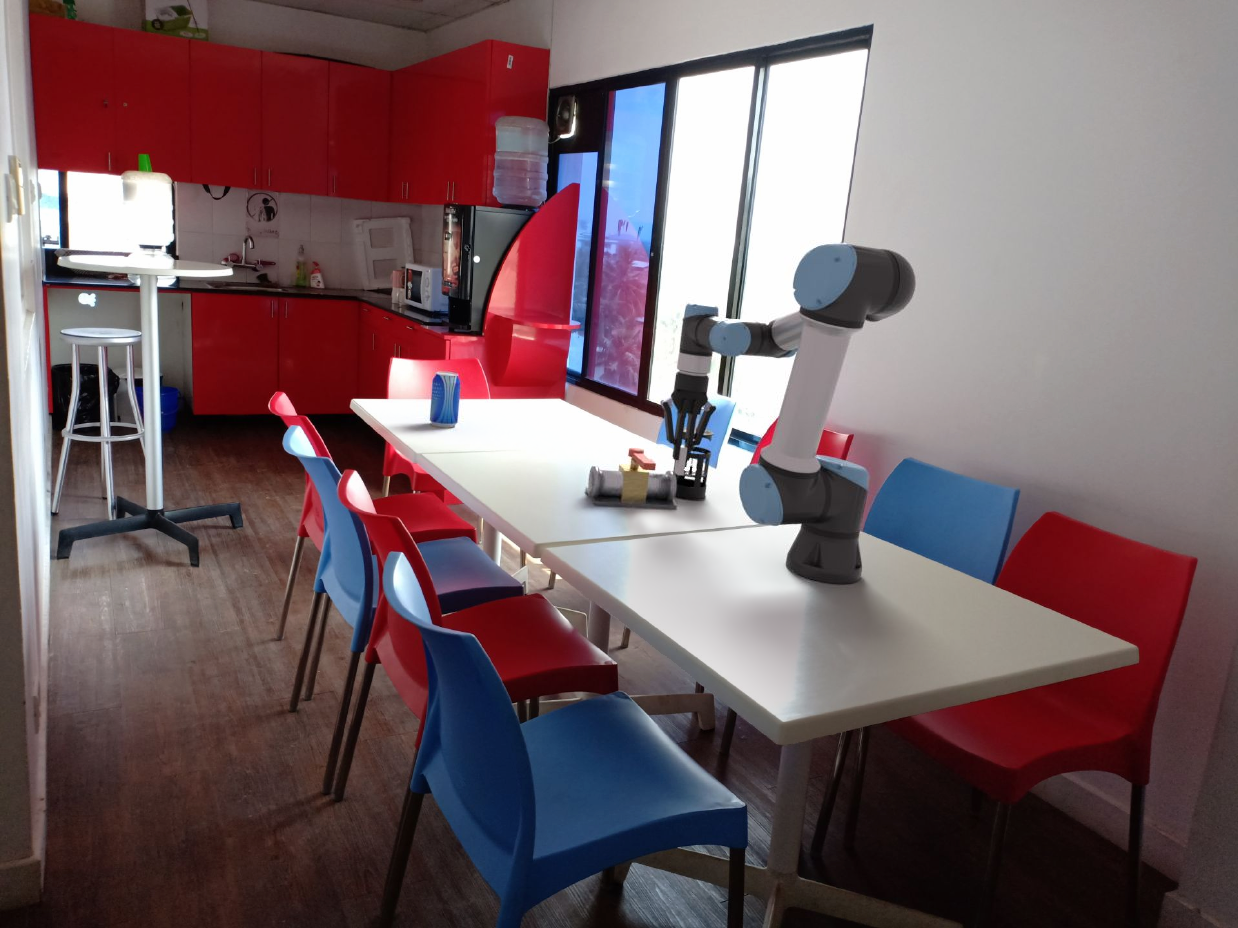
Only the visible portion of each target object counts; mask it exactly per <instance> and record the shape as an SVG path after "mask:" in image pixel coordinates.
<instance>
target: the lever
mask: <svg viewBox="0 0 1238 928" xmlns="http://www.w3.org/2000/svg"><path fill="white" fill-rule="evenodd" d="M644 453H645V450H644V449H642V448H638V447H637V448H636V447H631V448H628V455H627V456H628V457H630V458H633V459H634V460H635V461H636V462H637V463H638V464H639V466H640V467H641V468H642V469H643V470H648V471H656V467H657V463H656V462H655V461H654V460H653V459H652V458H651V459H650V458H648V457H647V456H646V455H645V454H644Z"/></svg>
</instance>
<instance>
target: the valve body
mask: <svg viewBox="0 0 1238 928" xmlns="http://www.w3.org/2000/svg"><path fill="white" fill-rule="evenodd" d="M587 485H588V486H587V487H585V490H584V492H585V491H586V492H585V493H586V495H587V494H588V495H587V496H588V498H589V499H590V501H591V502H592V504H593V505H594V506H595V507H596V506H597V507H598V506H599V507H615V508H617V507H618V508H634V509H637V508H638V509H653V510H654V509H656V510H672V511H673V510H677V509H678V505H677V504H676V503H675V502H674V500H675V499H676V497H675V495H676V488H677V481H676V475H675V472H674V470H667V471H666V472H665V473H652V472H649V470H643V469H642V468H641V467H640V466H639V464H638V463H637V462H636V461H635V460H634V459H633V458H632V457H630V464H619V465H618V470H603V469H600V468H599V466H595V465H592V466H591V467H590V469H589V474H588V483H587Z"/></svg>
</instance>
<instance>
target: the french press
mask: <svg viewBox="0 0 1238 928" xmlns="http://www.w3.org/2000/svg"><path fill="white" fill-rule="evenodd" d="M702 411H704V406H703V407H702V409H701V410H700V411H699V412H698V414H697V419H696V423H695V431H694V434H695V432H696V429H697V426H698V424H699V421H700V419H699V418H700V415H702V414H701V413H702ZM686 428H687V426H684V431H683V439H682V441H685V435H686ZM714 434H715V432H713V431H712V430H709V429H706V430H705V432H704V435H703V437H702V439H707V440H709V442H712V437H713V436H715V435H714ZM683 445H684V446H685V444H683ZM711 457H712V450H710V449H707V448H705V447H701V446H697V445H695V446H693V448H691V454H690V460H691V462H690V466H689V467H688V466H687V465H688V461H686V462H685V469H684V475H677V474H676V473H675V475H676V481H677V488H676V495H675V499H680V500H684V501H694V502H698V501H704V500H706V498H707V495H706V492H707V491H706V490H707V479H708V473H709V465H710V459H711ZM694 459H695V460H696V466H695V467H693V461H694ZM675 463H676V460H674V465H673V471H674V470H675ZM687 477H688V478H687ZM693 478H694V479H693Z"/></svg>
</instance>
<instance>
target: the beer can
mask: <svg viewBox="0 0 1238 928" xmlns="http://www.w3.org/2000/svg"><path fill="white" fill-rule="evenodd" d="M431 383H432V385H431V397H430V409H429V410H430V411H429V412H430V413H429V421H430V422H431V425H432V426H433V427H436V428H444V429H449V428H451V429H452V428H454V427H456V425H457V424H458V423H459V422H458V420H459V412H460V411H459V410H460V409H459V408H460V395H461V386H462V385H461V380H460V377H459V374H458V373H455V372H451V371H437V372H435V375H434V377H433V379H432V382H431Z"/></svg>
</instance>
